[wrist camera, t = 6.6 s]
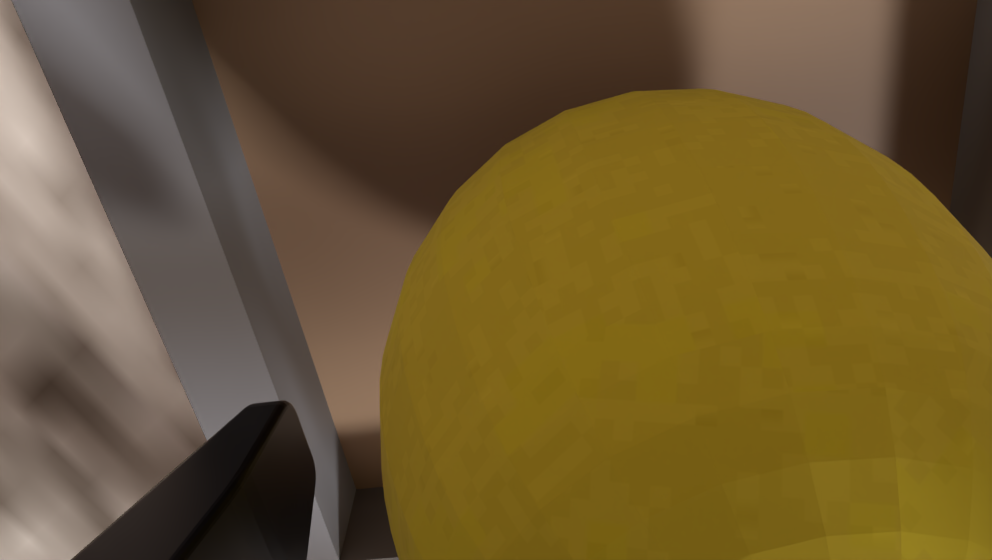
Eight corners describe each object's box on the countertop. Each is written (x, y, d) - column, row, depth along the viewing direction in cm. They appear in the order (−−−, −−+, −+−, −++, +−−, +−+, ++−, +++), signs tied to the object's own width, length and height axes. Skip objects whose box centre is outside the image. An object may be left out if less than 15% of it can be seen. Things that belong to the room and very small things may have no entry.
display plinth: (957, 398, 17) (1084, 593, 13) (311, 460, 18) (253, 651, 14) (1094, -467, 10) (1444, -595, 6) (47, -259, 11) (-193, -259, 8)
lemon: (309, 156, 11) (79, 834, 4) (719, -88, 10) (1486, 217, 3) (524, 448, 13) (629, 1180, 6) (868, 280, 12) (1463, 939, 5)
